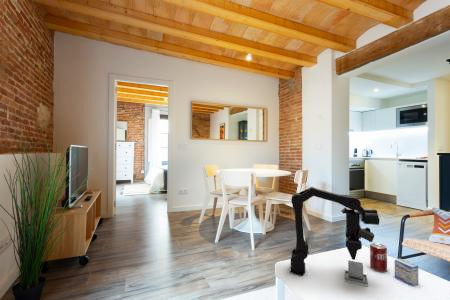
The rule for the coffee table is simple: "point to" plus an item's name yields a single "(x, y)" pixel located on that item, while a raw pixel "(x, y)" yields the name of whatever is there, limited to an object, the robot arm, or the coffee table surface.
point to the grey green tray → (355, 281)
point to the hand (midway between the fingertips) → (353, 255)
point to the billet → (355, 270)
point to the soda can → (378, 257)
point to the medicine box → (406, 272)
